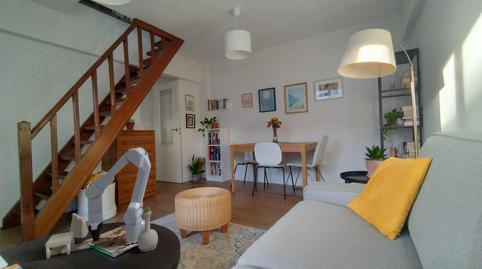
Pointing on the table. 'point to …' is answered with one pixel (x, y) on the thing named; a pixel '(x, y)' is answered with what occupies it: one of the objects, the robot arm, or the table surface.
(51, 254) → the token
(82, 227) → the stone
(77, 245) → the blade tool
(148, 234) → the potion bottle
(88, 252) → the table surface
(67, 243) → the white toy table
